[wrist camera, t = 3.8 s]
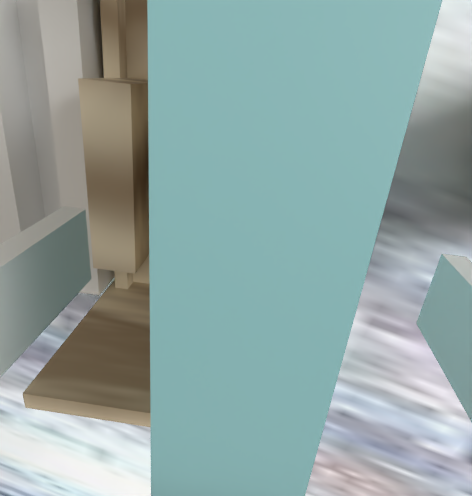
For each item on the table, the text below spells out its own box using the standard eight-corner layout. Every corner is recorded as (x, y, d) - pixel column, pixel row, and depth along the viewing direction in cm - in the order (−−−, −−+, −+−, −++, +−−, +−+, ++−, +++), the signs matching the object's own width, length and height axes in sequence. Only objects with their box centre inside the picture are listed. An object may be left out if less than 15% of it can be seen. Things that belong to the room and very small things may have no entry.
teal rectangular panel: (266, 277, 28) (237, 739, 9) (240, 273, 29) (153, 721, 9) (300, 39, 22) (544, -369, 2) (266, 36, 22) (145, -385, 2)
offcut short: (168, 228, 28) (135, 273, 21) (135, 224, 28) (93, 267, 21) (170, 82, 23) (130, 84, 17) (131, 78, 24) (77, 78, 17)
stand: (119, 270, 31) (99, 295, 28) (33, 258, 32) (2, 281, 28) (106, -15, 23) (74, -32, 19) (-12, -26, 23) (-65, -44, 20)
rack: (297, 304, 31) (310, 452, 19) (122, 280, 32) (25, 407, 20) (359, -12, 22) (464, -127, 9) (108, -34, 22) (-94, -166, 10)
